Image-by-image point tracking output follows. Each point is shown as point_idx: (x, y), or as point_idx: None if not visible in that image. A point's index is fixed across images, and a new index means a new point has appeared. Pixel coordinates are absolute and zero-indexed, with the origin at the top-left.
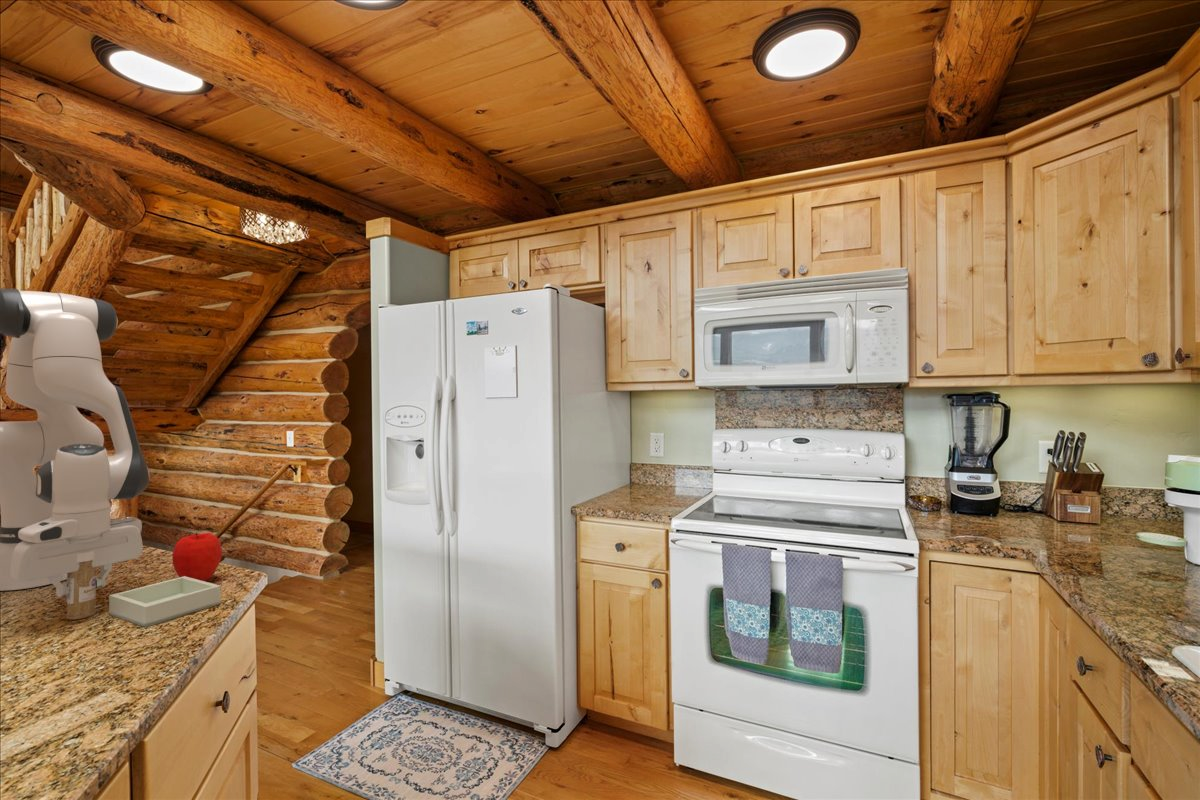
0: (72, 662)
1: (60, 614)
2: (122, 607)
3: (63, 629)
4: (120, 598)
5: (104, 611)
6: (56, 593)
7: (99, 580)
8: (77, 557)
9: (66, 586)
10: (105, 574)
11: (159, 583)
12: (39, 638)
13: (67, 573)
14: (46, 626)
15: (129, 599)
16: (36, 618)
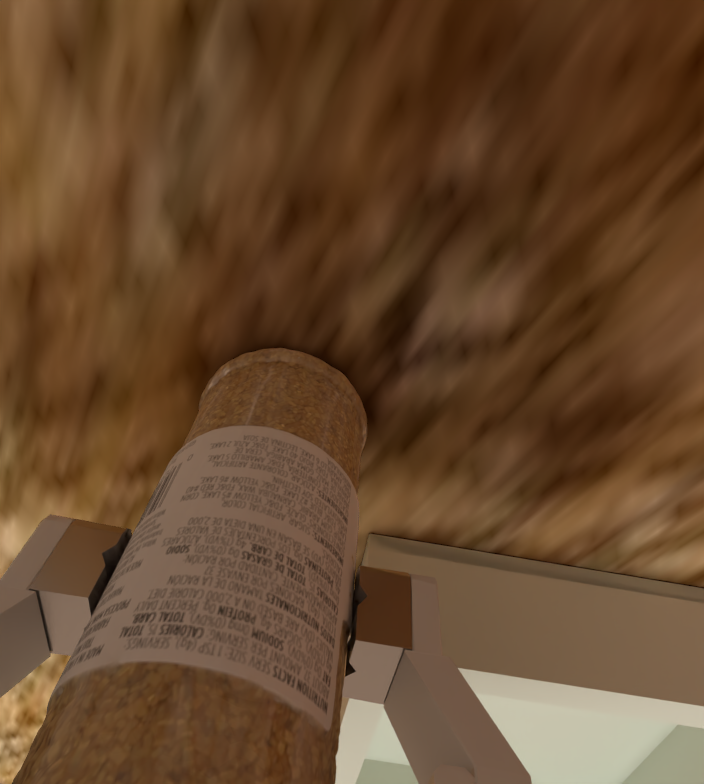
0: None
1: (242, 224)
2: None
3: (126, 517)
4: (342, 734)
5: (403, 461)
6: (39, 531)
7: (364, 688)
8: None
9: (76, 640)
10: (415, 759)
11: (680, 719)
12: (10, 525)
13: (16, 778)
14: (85, 392)
15: (348, 772)
16: (93, 123)
